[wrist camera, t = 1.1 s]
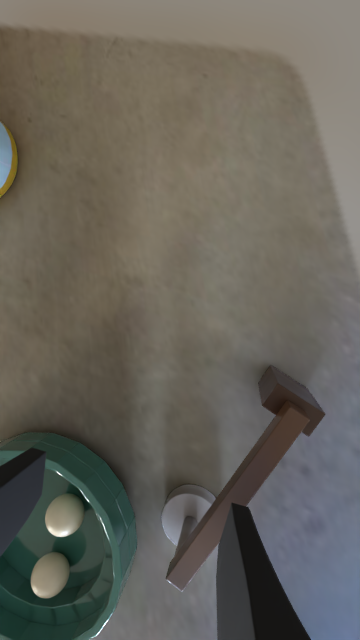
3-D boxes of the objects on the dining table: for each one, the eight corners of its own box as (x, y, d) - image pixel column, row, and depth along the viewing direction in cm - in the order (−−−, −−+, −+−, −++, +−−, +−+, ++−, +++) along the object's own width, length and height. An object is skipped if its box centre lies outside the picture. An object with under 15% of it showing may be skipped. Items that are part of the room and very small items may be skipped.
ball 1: (97, 500, 25) (79, 525, 22) (80, 526, 26) (60, 554, 23) (69, 479, 26) (48, 500, 23) (53, 505, 26) (30, 529, 23)
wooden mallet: (201, 550, 25) (188, 633, 18) (154, 515, 25) (126, 584, 19) (316, 394, 22) (344, 430, 16) (262, 359, 23) (268, 381, 17)
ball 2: (82, 558, 26) (63, 589, 23) (66, 583, 26) (45, 616, 23) (55, 536, 26) (33, 564, 23) (39, 561, 27) (16, 591, 24)
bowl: (175, 504, 25) (162, 543, 21) (82, 638, 27) (55, 695, 23) (24, 392, 27) (-14, 408, 23) (-50, 526, 29) (-95, 561, 25)
